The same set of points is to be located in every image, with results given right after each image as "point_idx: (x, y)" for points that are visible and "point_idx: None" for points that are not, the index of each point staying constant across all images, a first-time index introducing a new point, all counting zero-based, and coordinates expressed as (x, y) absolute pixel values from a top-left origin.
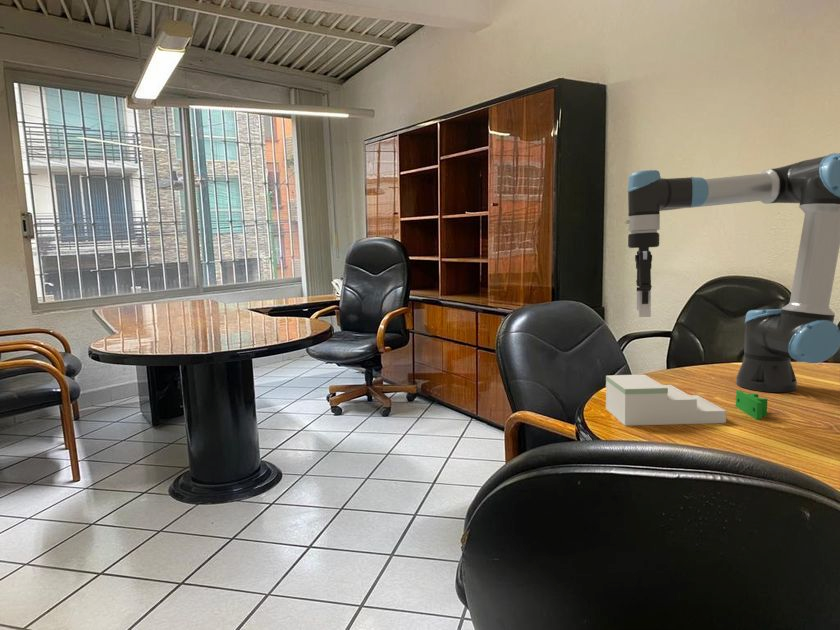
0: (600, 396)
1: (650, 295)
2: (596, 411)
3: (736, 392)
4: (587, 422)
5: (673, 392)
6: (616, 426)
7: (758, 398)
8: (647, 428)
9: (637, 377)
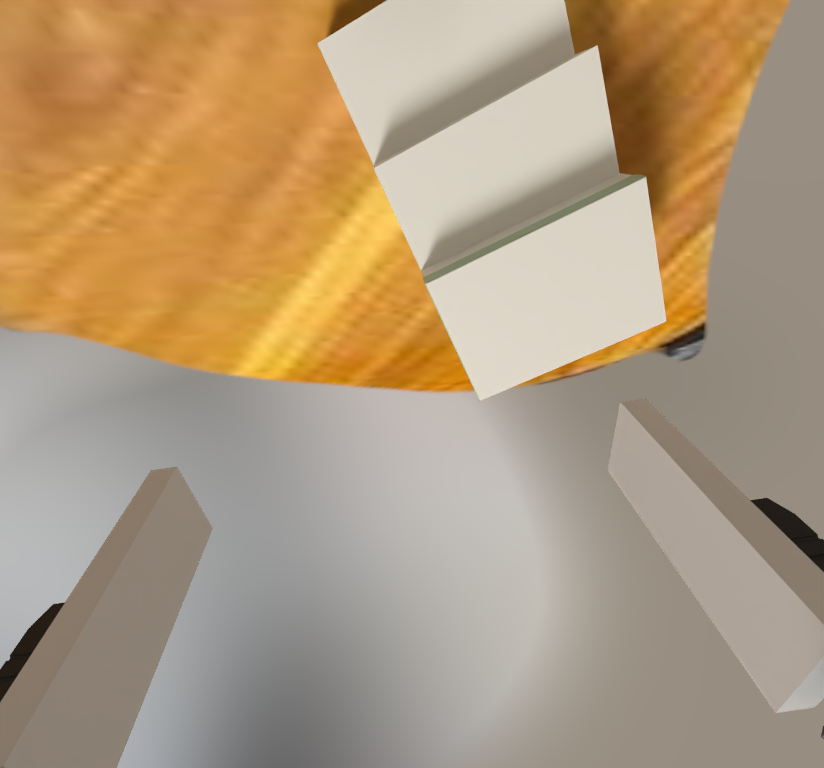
0: (335, 380)
1: (819, 570)
2: None
3: None
4: (588, 366)
5: (502, 152)
6: None
7: None
8: None
9: (486, 303)
